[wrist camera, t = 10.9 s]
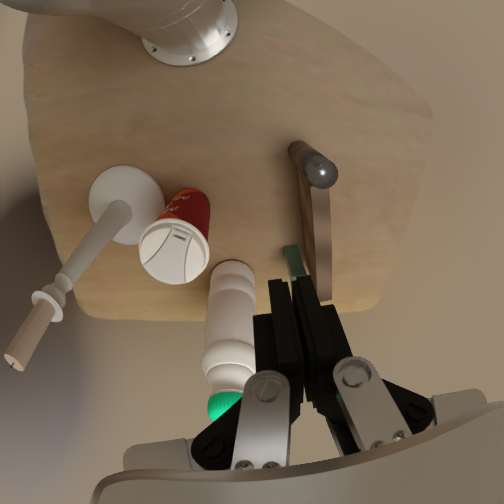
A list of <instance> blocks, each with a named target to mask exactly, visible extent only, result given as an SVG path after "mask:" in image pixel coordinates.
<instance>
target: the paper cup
mask: <svg viewBox="0 0 504 504" xmlns="http://www.w3.org/2000/svg"><path fill="white" fill-rule="evenodd" d="M209 220H210V203H209V200H208V198H207V197H206V195H205V194H204V193H203V192H201V191H199V190H197V189H185V190H182V191H180V192H179V193H178V194H177V195H176V196H175V197H174V198H173V199H172V200H171V201H170V203H169V204H168V205H167V206H166V207H165V209H164V210H163V211H162V212H161V214H160V215H159V216H158V218H157V219H156V220H155V221H154V222H153V223H152V224H150V225H149V226H148V227H147V228H146V229H145V230H144V231H143V233H142V235H141V237H140V240H139V254H140V260H141V263H142V265H143V266H144V268H145V269H146V270H147V272H148V273H149V274H150V275H151V276H152V277H154V278H155V279H157V280H159V281H161V282H164V283H167V284H174V285H176V284H184V283H188V282H190V281H192V280H193V279H195V278H196V277H197V276H198V275H200V274H201V273H202V272H203V271H204V269H205V268H206V266H207V263H208V260H209V247H208V244H207V242H208V231H209Z"/></svg>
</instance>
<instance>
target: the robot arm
mask: <svg viewBox="0 0 504 504" xmlns="http://www.w3.org/2000/svg"><path fill="white" fill-rule="evenodd" d="M0 2H1V3H3V4H4V5H6V6H8V7H11V8H13V9H16V10H20V11H24V12H28V13H34V14H42V15H53V16H94V17H98V18H102V19H104V20H107V21H109V22H112V23H114V24H116V25H118V26H120V27H122V28H124V29H126V30H128V31H130V32H132V33H134V34H136V35H138V36H140V37H141V40H142V43H143V45H144V47H145V49H146V50H147V51H148V53H149V54H150V55H151V56H153V57H154V58H155V59H157V60H159V61H161V62H163V63H165V64H168V65H173V66H193V65H198V64H201V63H204V62H207V61H209V60H211V59H213V58H215V57H216V56H217V55H219V54H220V53H222V52H223V51H224V50H225V49H226V48H227V47H228V46H229V44H230V43H231V41H232V40H233V38H234V36H235V34H236V32H237V27H238V13H237V9H236V7H235V5H234V3H233V2H232V0H225V1H224V2H223V1H222V0H0ZM228 33H229V34H230V36H226V35H227V34H228ZM154 49H157V50H156V52H154ZM193 58H195V61H192V59H193ZM268 286H269V295H270V304H271V312H272V313H269V314H261V315H253V333H254V349H255V366H256V373H255V374H254V375H252V376H251V377H249V379H248V380H247V381H246V383H245V386H244V390H243V396H242V397H241V398H240V399H239V400H238V401H237V402H236V403H235V404H233V405H232V406H231V407H230V408H229V409H228V410H227V411H226V412H224V413H223V414H222V415H221V416H220V417H219V418H217V419H216V420H215V421H214V422H213V423H212V424H211V425H209V426H208V427H207V428H206V429H205V430H204V431H202V432H201V433H200V434H199V435H197V436H196V437H195V438H192V439H187V440H186V439H184V438H181V439H176V440H169V441H162V442H155V443H147V444H138V445H134V446H131V447H130V448H128V449H127V450H126V452H125V453H124V456H123V466H124V471H123V472H119V473H115V474H112V475H109V476H107V477H105V478H104V479H102V480H101V481H100V482H99V483H98V484H97V486H96V487H95V489H94V491H93V494H92V497H91V501H90V504H504V401H498V402H492V403H488V404H487V400H486V397H485V395H484V394H483V393H482V392H481V391H480V390H478V389H469V390H463V391H458V392H453V393H447V394H440V395H433V396H432V398H425V397H423V396H421V395H419V394H416V393H414V392H412V391H409V390H407V389H405V388H402V387H400V386H398V385H395V384H393V383H391V382H389V381H386V380H384V379H382V378H380V376H379V374H378V372H377V371H376V369H375V367H374V366H373V365H372V364H371V362H370V361H368V360H366V359H364V358H362V357H355V356H353V355H352V352H351V349H350V347H349V344H348V341H347V338H346V335H345V333H344V330H343V327H342V325H341V322H340V319H339V317H338V314H337V311H336V309H335V307H334V305H333V304H331V305H325V306H321V305H320V302H319V299H318V296H317V293H316V290H315V287H314V284H313V281H312V279H311V276H310V275H304V276H297V277H296V280H295V281H291V287H292V300H291V295H290V291H289V286H288V282H282V279H274V280H268ZM304 388H305V393H306V399H307V402H310V401H312V403H313V408H317V412H318V413H320V414H322V415H324V416H325V418H326V422H327V424H328V427H329V429H330V432H331V434H332V437H333V439H334V442H335V444H336V447H337V449H338V452H339V454H340V457H338V458H333V459H328V460H323V461H318V462H312V463H306V464H300V465H293V466H289V459H290V441H291V424H292V423H293V422H294V421H295V420H296V419H297V418H298V417H299V416H300V403H303V393H304Z"/></svg>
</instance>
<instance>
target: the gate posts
mask: <svg viewBox="0 0 504 504" xmlns="http://www.w3.org/2000/svg"><path fill="white" fill-rule="evenodd" d="M288 153H289V156H290V158H291V159H292V160H293V161H294V163H295V164H296V165H297V166H298V167H299V169H300V170H301V171H302V173H303V174H304V175H305V176H306V178H307V179H308V180H309V181H310V183H311V184H312V185H313V186H314V187H316V188H318V189H327V188H330V187H331V186H333V185H334V184H335V182H336V181H337V178H338V170H337V167H336V166H335V164H334V163H332V162H331V161H330V160H329V159H327V158H326V157H325V156H323V155H322V154H321V153H319V152H318V151H316V150H315V149H314V148H312V147H311V146H310V145H308V144H307V143H305V142H304V141H295V142H293V143H292V144H291V145H290V147H289V149H288ZM284 255H285V261H286V265H287V269H288V273H289V277H290V281H295V280H296V277H297V276H304V275H307V274H306V271H305V268H304V265H303V262H302V259H301V256H300V253H299V250H298V248H297V245H291V246H284Z"/></svg>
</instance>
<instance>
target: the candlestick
mask: <svg viewBox="0 0 504 504" xmlns="http://www.w3.org/2000/svg"><path fill="white" fill-rule="evenodd" d="M165 207H166V204H165V199H164V195H163V192H162V190H161V188H160V186H159V185H158V183H157V182H156V181H155V179H154V178H153V177H152V176H151V175H149V174H148V173H147V172H145V171H144V170H142V169H140V168H137V167H134V166H130V165H118V166H114V167H111V168H109V169H107V170H105V171H104V172H102V173H101V174H100V175H99V176H98V177H97V178H96V180H95V181H94V183H93V185H92V187H91V190H90V193H89V209H90V214H91V216H92V219H93V221H94V223H95V225H94V226H93V227H92V228H91V230H90V231H89V232H88V233H87V235H86V236H85V237H84V239H83V240H82V241H81V243H80V244H79V245H78V247H77V248H76V249H75V251H74V252H73V253H72V255H71V256H70V258H69V259H68V260H67V262H66V263H65V265H64V266H63V268H62V269H61V270H60V272H59V273H58V274H57V275H56V277H55V282H54V283H52V284H51V285H46V286H44V288H43V290H42V291H35V292H34V293H33V294H32V302H33V305H34V308H33V310H32V311H31V312H30V314H29V315H28V317H27V318H26V320H25V321H24V323H23V325H22V326H21V328H20V329H19V331H18V332H17V334H16V336H15V337H14V339H13V341H12V342H11V344H10V346H9V347H8V349H7V351H6V353H5V355H4V356H5V359H6V360H7V361H8V363H9V364H11V368H12V366H13V367H14V368H16V369H17V370H19V371H24V369H25V367H26V365H27V363H28V361H29V359H30V357H31V355H32V353H33V351H34V350H35V347H36V346H37V344H38V342H39V340H40V338H41V337H42V335H43V333H44V332H45V330H46V328H47V326H48V325H49V323H50V321H52V322H59V321H61V320H62V318H63V312H62V308H63V307H64V305H65V294H66V292H67V291H70V290H71V289H72V288H73V286H74V284H75V283H76V282H77V280H78V279H79V278H80V277H81V275H82V274H83V273H84V272H85V270H86V269H87V268H88V267H89V266H90V264H91V263H92V262H93V261H94V260H95V258H96V257H97V256H98V255H99V254H100V252H101V251H102V250H103V249H104V248H105V247H106V246H107V244H108V243H109V242H110V241H111V240H113V241H115V242H118V243H121V244H125V245H136V244H139V240H140V237H141V235H142V233H143V231H144V230H145V229H146V228H147V227H148V226H149V225H150V224H152V223H153V222H154V221H155V220H156V219H157V218H158V216H159V215H160V214H161V212H162V211H163V210H164V209H165Z"/></svg>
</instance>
